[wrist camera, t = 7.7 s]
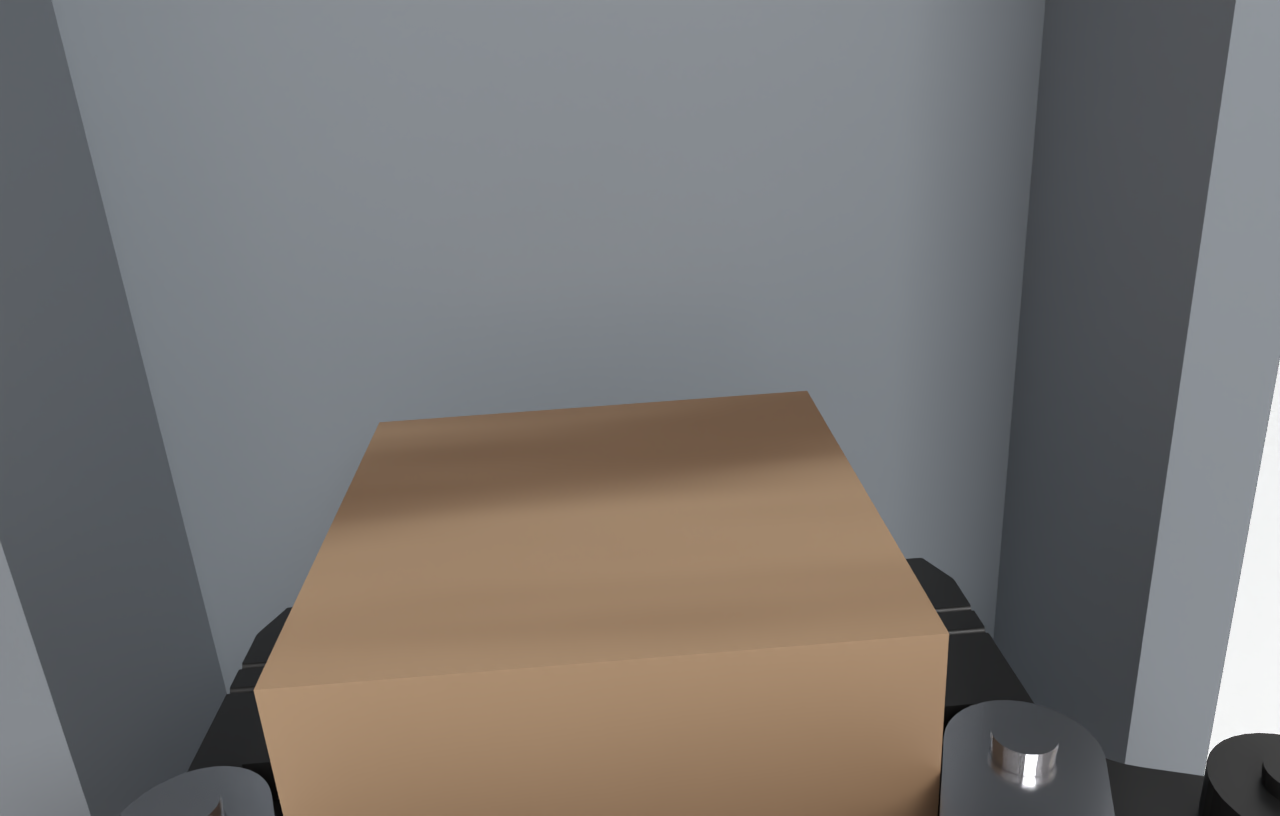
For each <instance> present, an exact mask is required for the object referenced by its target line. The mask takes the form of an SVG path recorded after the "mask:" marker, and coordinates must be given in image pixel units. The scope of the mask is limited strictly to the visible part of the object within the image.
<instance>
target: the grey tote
mask: <svg viewBox="0 0 1280 816" xmlns="http://www.w3.org/2000/svg"><path fill="white" fill-rule="evenodd" d="M1279 360H1280V0H0V816H119V815H120V814H121V813H122V812H123V811H124V810H125V809H126V808H127V807H128V806H129V805H130V804H131V803H132V802H133V801H135V800H136V799H137V798H138V797H140V796H141V795H142V794H144V793H145V792H147V791H148V790H150V789H151V788H153V787H155V786H157V785H158V784H160V783H162V782H164V781H166V780H168V779H171V778H173V777H175V776H178V775H181V774H183V773H186V772H187V771H188V769H189V767H190V765H191V763H192V761H193V759H194V757H195V755H196V753H197V751H198V749H199V747H200V745H201V743H202V741H203V739H204V737H205V735H206V734H207V732H208V730H209V728H210V726H211V724H212V722H213V720H214V718H215V716H216V714H217V712H218V710H219V708H220V706H221V704H222V702H223V700H224V698H225V696H226V694H230V686H231V684H232V682H233V680H234V678H235V676H236V674H237V672H238V670H239V669H242V662H243V660H244V659H245V657H246V655H247V653H248V651H249V649H250V647H251V645H252V643H253V641H254V639H255V637H256V635H257V634H258V633H259V632H260V631H261V630H262V629H263V628H265V627H266V626H267V625H268V624H269V623H270V622H271V621H273V620H274V619H275V618H276V617H277V616H278V615H279V614H281V613H282V612H283V611H284V610H285V609H286V608H288V607H293V605H294V603H295V601H296V599H297V597H298V594H299V592H300V590H301V588H302V586H303V584H304V582H305V580H306V577H307V575H308V573H309V571H310V569H311V567H312V565H313V563H314V560H315V558H316V556H317V554H318V552H319V550H320V548H321V546H322V543H323V541H324V539H325V537H326V535H327V533H328V531H329V528H330V526H331V524H332V522H333V520H334V518H335V516H336V514H337V511H338V509H339V507H340V505H341V503H342V501H343V499H344V497H345V494H346V492H347V490H348V488H349V486H350V484H351V482H352V480H353V477H354V475H355V473H356V471H357V469H358V467H359V465H360V463H361V460H362V458H363V456H364V454H365V452H366V450H367V448H368V446H369V443H370V441H371V439H372V437H373V435H374V433H375V431H376V428H377V426H378V424H379V422H390V421H404V420H417V419H431V418H444V417H458V416H471V415H485V414H498V413H512V412H526V411H539V410H553V409H566V408H580V407H593V406H607V405H620V404H634V403H647V402H661V401H674V400H688V399H701V398H715V397H729V396H742V395H756V394H769V393H783V392H796V391H808V393H809V395H810V397H811V398H812V400H813V402H814V403H815V405H816V407H817V408H818V410H819V412H820V414H821V415H822V417H823V419H824V420H825V422H826V424H827V426H828V427H829V429H830V431H831V432H832V434H833V436H834V438H835V439H836V441H837V443H838V444H839V446H840V448H841V450H842V451H843V453H844V455H845V456H846V458H847V460H848V461H849V463H850V465H851V467H852V468H853V470H854V472H855V473H856V475H857V477H858V479H859V480H860V482H861V484H862V485H863V487H864V489H865V491H866V492H867V494H868V496H869V497H870V499H871V501H872V502H873V504H874V506H875V508H876V509H877V511H878V513H879V514H880V516H881V518H882V520H883V521H884V523H885V525H886V526H887V528H888V530H889V532H890V533H891V535H892V537H893V538H894V540H895V542H896V544H897V545H898V547H899V549H900V550H901V552H902V554H903V555H904V557H905V559H910V558H923V559H925V560H926V561H928V562H929V563H931V564H932V565H934V566H935V567H937V568H938V569H940V570H941V571H943V572H944V573H946V574H947V575H949V576H950V577H952V578H953V579H954V580H955V582H956V583H957V585H958V586H959V588H960V589H961V591H962V592H963V594H964V596H965V597H966V599H967V600H968V602H969V603H970V605H971V611H973V610H974V611H975V613H976V614H977V616H978V617H979V619H980V620H981V622H982V623H983V625H984V626H985V632H986V633H989V634H990V636H991V637H992V639H993V640H994V642H995V643H996V645H997V647H998V648H999V650H1000V651H1001V653H1002V654H1003V656H1004V657H1005V659H1006V660H1007V662H1008V664H1009V665H1010V667H1011V668H1012V670H1013V671H1014V673H1015V674H1016V676H1017V677H1018V679H1019V681H1020V682H1021V684H1022V685H1023V687H1024V688H1025V690H1026V691H1027V693H1028V694H1029V696H1030V698H1031V699H1032V701H1033V702H1034V704H1037V705H1041V706H1044V707H1048V708H1050V709H1053V710H1055V711H1058V712H1060V713H1062V714H1064V715H1066V716H1068V717H1070V718H1072V719H1073V720H1075V721H1076V722H1078V723H1079V724H1081V725H1082V726H1083V727H1084V728H1085V729H1087V730H1088V731H1089V732H1090V733H1091V734H1092V735H1093V736H1094V738H1095V739H1096V740H1097V741H1098V742H1099V744H1100V746H1101V748H1102V750H1103V751H1104V755H1105V758H1107V759H1109V760H1113V761H1116V762H1120V763H1123V764H1128V765H1133V766H1138V767H1145V768H1152V769H1159V770H1166V771H1173V772H1180V773H1187V774H1194V775H1201V776H1204V771H1205V765H1206V760H1207V754H1208V749H1209V744H1210V738H1211V733H1212V727H1213V722H1214V716H1215V711H1216V705H1217V700H1218V694H1219V689H1220V683H1221V678H1222V672H1223V667H1224V661H1225V656H1226V650H1227V645H1228V639H1229V634H1230V628H1231V623H1232V618H1233V612H1234V607H1235V601H1236V596H1237V590H1238V585H1239V579H1240V574H1241V568H1242V563H1243V557H1244V552H1245V546H1246V541H1247V535H1248V530H1249V524H1250V519H1251V513H1252V508H1253V502H1254V497H1255V492H1256V486H1257V481H1258V475H1259V470H1260V464H1261V459H1262V453H1263V448H1264V442H1265V437H1266V431H1267V426H1268V420H1269V415H1270V409H1271V404H1272V398H1273V393H1274V387H1275V382H1276V376H1277V371H1278V366H1279Z"/></svg>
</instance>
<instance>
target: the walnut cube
mask: <svg viewBox="0 0 1280 816" xmlns="http://www.w3.org/2000/svg"><path fill="white" fill-rule="evenodd" d="M948 644H949V632H948V631H947V629H946V627H945V626H944V624H943V622H942V620H941V619H940V617H939V615H938V614H937V612H936V610H935V608H934V607H933V605H932V603H931V602H930V600H929V598H928V596H927V595H926V593H925V591H924V590H923V588H922V586H921V585H920V583H919V581H918V579H917V578H916V576H915V574H914V573H913V571H912V569H911V567H910V566H909V564H908V562H907V561H906V559H905V557H904V555H903V554H902V552H901V550H900V549H899V547H898V545H897V544H896V542H895V540H894V538H893V537H892V535H891V533H890V532H889V530H888V528H887V526H886V525H885V523H884V521H883V520H882V518H881V516H880V514H879V513H878V511H877V509H876V508H875V506H874V504H873V502H872V501H871V499H870V497H869V496H868V494H867V492H866V491H865V489H864V487H863V485H862V484H861V482H860V480H859V479H858V477H857V475H856V473H855V472H854V470H853V468H852V467H851V465H850V463H849V461H848V460H847V458H846V456H845V455H844V453H843V451H842V450H841V448H840V446H839V444H838V443H837V441H836V439H835V438H834V436H833V434H832V432H831V431H830V429H829V427H828V426H827V424H826V422H825V420H824V419H823V417H822V415H821V414H820V412H819V410H818V408H817V407H816V405H815V403H814V402H813V400H812V398H811V397H810V395H809V393H808V391H796V392H783V393H769V394H756V395H742V396H729V397H715V398H701V399H688V400H674V401H661V402H647V403H634V404H620V405H607V406H593V407H580V408H566V409H553V410H539V411H526V412H512V413H498V414H485V415H471V416H458V417H444V418H431V419H417V420H404V421H390V422H379V424H378V426H377V428H376V431H375V433H374V435H373V437H372V439H371V441H370V443H369V446H368V448H367V450H366V452H365V454H364V456H363V458H362V460H361V463H360V465H359V467H358V469H357V471H356V473H355V475H354V477H353V480H352V482H351V484H350V486H349V488H348V490H347V492H346V494H345V497H344V499H343V501H342V503H341V505H340V507H339V509H338V511H337V514H336V516H335V518H334V520H333V522H332V524H331V526H330V528H329V531H328V533H327V535H326V537H325V539H324V541H323V543H322V546H321V548H320V550H319V552H318V554H317V556H316V558H315V560H314V563H313V565H312V567H311V569H310V571H309V573H308V575H307V577H306V580H305V582H304V584H303V586H302V588H301V590H300V592H299V594H298V597H297V599H296V601H295V603H294V605H293V607H292V609H291V611H290V614H289V616H288V618H287V620H286V622H285V624H284V626H283V628H282V631H281V633H280V635H279V637H278V639H277V641H276V643H275V645H274V648H273V650H272V652H271V654H270V656H269V658H268V660H267V663H266V665H265V667H264V669H263V671H262V673H261V675H260V677H259V680H258V682H257V684H256V686H255V688H254V694H255V699H256V703H257V707H258V711H259V715H260V720H261V724H262V728H263V732H264V737H265V741H266V745H267V749H268V753H269V758H270V762H271V766H272V770H273V774H274V779H275V783H276V787H277V791H278V795H279V800H280V804H281V808H282V812H283V816H938V802H939V786H940V770H941V754H942V738H943V723H944V707H945V691H946V675H947V659H948Z"/></svg>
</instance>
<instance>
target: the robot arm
mask: <svg viewBox="0 0 1280 816" xmlns="http://www.w3.org/2000/svg"><path fill="white" fill-rule="evenodd" d="M906 561H907V562H908V564H909V566H910V567H911V569H912V571H913V573H914V574H915V576H916V578H917V579H918V581H919V583H920V585H921V586H922V588H923V590H924V591H925V593H926V595H927V596H928V598H929V600H930V602H931V603H932V605H933V607H934V608H935V610H936V612H937V614H938V615H939V617H940V619H941V620H942V622H943V624H944V626H945V627H946V629H947V631H948V632H949V644H948V659H947V675H946V691H945V707H944V723H943V738H942V754H941V770H940V786H939V802H938V816H1280V735H1278V734H1266V733H1254V734H1243V735H1238V736H1234V737H1231V738H1228V739H1226V740H1223V741H1222V742H1221V743H1219V744H1218V745H1216V746H1215V747H1214V748H1213V750H1212V751H1211V752H1210V754H1209V757H1208V759H1207V764H1206V769H1205V775H1204V776H1201V775H1194V774H1187V773H1180V772H1173V771H1166V770H1159V769H1152V768H1145V767H1138V766H1133V765H1128V764H1123V763H1120V762H1116V761H1113V760H1109V759H1107V758H1105V755H1104V751H1103V750H1102V748H1101V746H1100V744H1099V742H1098V741H1097V740H1096V739H1095V738H1094V736H1093V735H1092V734H1091V733H1090V732H1089V731H1088V730H1087V729H1085V728H1084V727H1083V726H1082V725H1081V724H1079V723H1078V722H1076V721H1075V720H1073V719H1072V718H1070V717H1068V716H1066V715H1064V714H1062V713H1060V712H1058V711H1055V710H1053V709H1050V708H1048V707H1044V706H1041V705H1037V704H1034V702H1033V701H1032V699H1031V698H1030V696H1029V694H1028V693H1027V691H1026V690H1025V688H1024V687H1023V685H1022V684H1021V682H1020V681H1019V679H1018V677H1017V676H1016V674H1015V673H1014V671H1013V670H1012V668H1011V667H1010V665H1009V664H1008V662H1007V660H1006V659H1005V657H1004V656H1003V654H1002V653H1001V651H1000V650H999V648H998V647H997V645H996V643H995V642H994V640H993V639H992V637H991V636H990V634H989V633H986V632H985V626H984V625H983V623H982V622H981V620H980V619H979V617H978V616H977V614H976V613H975V611H974V610H973V611H971V605H970V603H969V602H968V600H967V599H966V597H965V596H964V594H963V592H962V591H961V589H960V588H959V586H958V585H957V583H956V582H955V580H954V579H953V578H952V577H950V576H949V575H947V574H946V573H944V572H943V571H941V570H940V569H938V568H937V567H935V566H934V565H932V564H931V563H929V562H928V561H926V560H925V559H923V558H910V559H906ZM291 609H292V607H288V608H286V609H285V610H284V611H283V612H282V613H281V614H279V615H278V616H277V617H276V618H275V619H274V620H273V621H271V622H270V623H269V624H268V625H267V626H266V627H265V628H263V629H262V630H261V631H260V632H259V633H258V634H257V635H256V637H255V639H254V641H253V643H252V645H251V647H250V649H249V651H248V653H247V655H246V657H245V659H244V660H243V662H242V669H239V670H238V672H237V674H236V676H235V678H234V680H233V682H232V684H231V686H230V694H226V696H225V698H224V700H223V702H222V704H221V706H220V708H219V710H218V712H217V714H216V716H215V718H214V720H213V722H212V724H211V726H210V728H209V730H208V732H207V734H206V735H205V737H204V739H203V741H202V743H201V745H200V747H199V749H198V751H197V753H196V755H195V757H194V759H193V761H192V763H191V765H190V767H189V769H188V771H187V772H186V773H183V774H181V775H178V776H175V777H173V778H171V779H168V780H166V781H164V782H162V783H160V784H158V785H157V786H155V787H153V788H151V789H150V790H148V791H147V792H145V793H144V794H142V795H141V796H140V797H138V798H137V799H136V800H135V801H133V802H132V803H131V804H130V805H129V806H128V807H127V808H126V809H125V810H124V811H123V812H122V813H121V814H120V815H119V816H283V812H282V808H281V804H280V800H279V795H278V791H277V787H276V783H275V779H274V774H273V770H272V766H271V762H270V758H269V753H268V749H267V745H266V741H265V737H264V732H263V728H262V724H261V720H260V715H259V711H258V707H257V703H256V699H255V694H254V688H255V686H256V684H257V682H258V680H259V677H260V675H261V673H262V671H263V669H264V667H265V665H266V663H267V660H268V658H269V656H270V654H271V652H272V650H273V648H274V645H275V643H276V641H277V639H278V637H279V635H280V633H281V631H282V628H283V626H284V624H285V622H286V620H287V618H288V616H289V614H290V611H291Z"/></svg>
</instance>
